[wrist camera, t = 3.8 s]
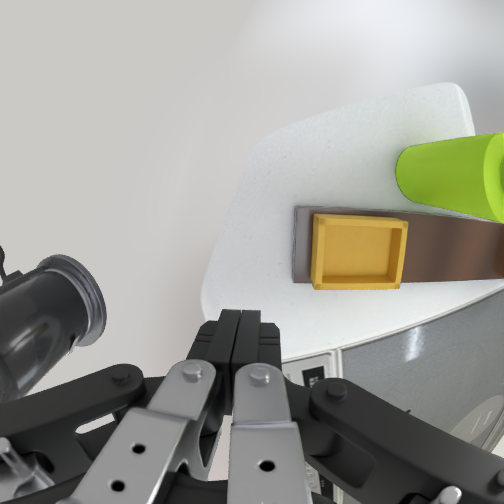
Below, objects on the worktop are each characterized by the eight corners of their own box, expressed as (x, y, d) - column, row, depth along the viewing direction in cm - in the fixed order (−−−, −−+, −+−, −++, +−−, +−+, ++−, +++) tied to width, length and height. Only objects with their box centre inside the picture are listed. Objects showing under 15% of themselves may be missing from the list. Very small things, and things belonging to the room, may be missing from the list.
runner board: (292, 279, 27) (293, 283, 26) (294, 205, 26) (296, 207, 24) (509, 275, 26) (514, 278, 25) (517, 224, 24) (523, 225, 23)
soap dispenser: (453, 193, 24) (608, 228, 5) (403, 209, 25) (573, 270, 6) (440, 139, 23) (598, 125, 3) (388, 152, 24) (564, 131, 4)
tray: (309, 279, 26) (314, 290, 23) (313, 213, 24) (318, 217, 22) (389, 279, 25) (399, 288, 23) (396, 217, 24) (408, 222, 21)
